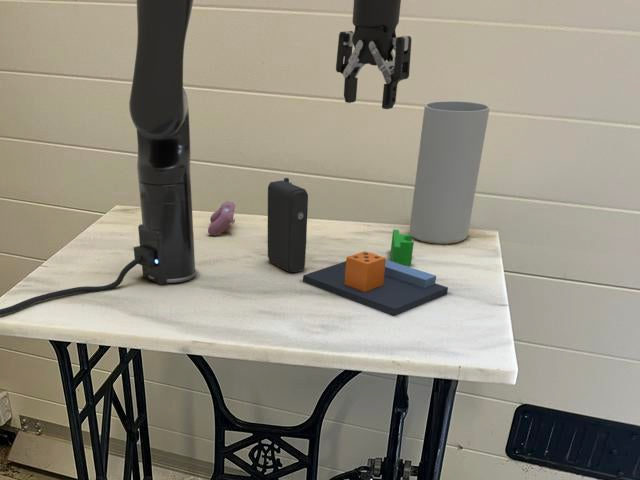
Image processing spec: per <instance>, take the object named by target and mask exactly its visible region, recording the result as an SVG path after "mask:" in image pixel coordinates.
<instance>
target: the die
mask: <svg viewBox="0 0 640 480" xmlns="http://www.w3.org/2000/svg"><path fill="white" fill-rule="evenodd" d="M386 260H387V257H385V256H382V255H378V254H375V253H373V252H369V251H366V250H364V251H361V252H358V253H355V254H351V255H348V256H347V257H346V258H345V261H346V270H345V283H344V285H347V286H350V287H352V288H355V289H358V290H361V291H364V292H366V291H369V290H372V289H374V288H377V287H380V286H383V282H384V273H385V263H386Z"/></svg>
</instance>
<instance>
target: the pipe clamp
mask: <svg viewBox="0 0 640 480" xmlns="http://www.w3.org/2000/svg"><path fill="white" fill-rule="evenodd" d="M413 250H414V241H413V237H412V235H410V234H405V233H404V234H403V233H402V234H401V233H400V230H399V229H392V236H391V246H390V261H392V262H395V263H398V264H401V265H404V266H408V267H411V266H412V259H413Z"/></svg>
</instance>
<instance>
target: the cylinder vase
mask: <svg viewBox="0 0 640 480" xmlns="http://www.w3.org/2000/svg"><path fill="white" fill-rule="evenodd" d="M490 108H491V107H490V106H489V105H487V104H483V103H479V102H472V101H459V100H455V101H454V100H447V101H446V100H445V101H444V100H443V101H441V100H440V101H433V102H432V101H431V102H427V103H425V104H424V108H423V117H422V125H421V131H420V132H421V133H420V141H419V149H418V155H417V156H418V157H417V165H416V171H415V172H416V173H415V174H416V175H415V180H414V181H415V183H414V187H413V188H414V190H413V196H412V205H411V213H410V220H409V229H408V230H409V231H408V232H409V235H412V238H414V239H415V240H418V241H420V242H424V243H428V244H429V243H430V244H435V245H436V244H437V245H438V244H439V245H449V244H456V243H459V242H462V241H464V240H465V239H466V238H467V237H468V235H469V230H470V223H471V218H472V213H473V206H474V200H475V197H476V189H477V184H478V177H479V172H480V167H481V166H480V165H481V161H482V160H481V159H482V154H483V149H484V143H485V137H486V131H487V125H488V119H489V115H490Z"/></svg>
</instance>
